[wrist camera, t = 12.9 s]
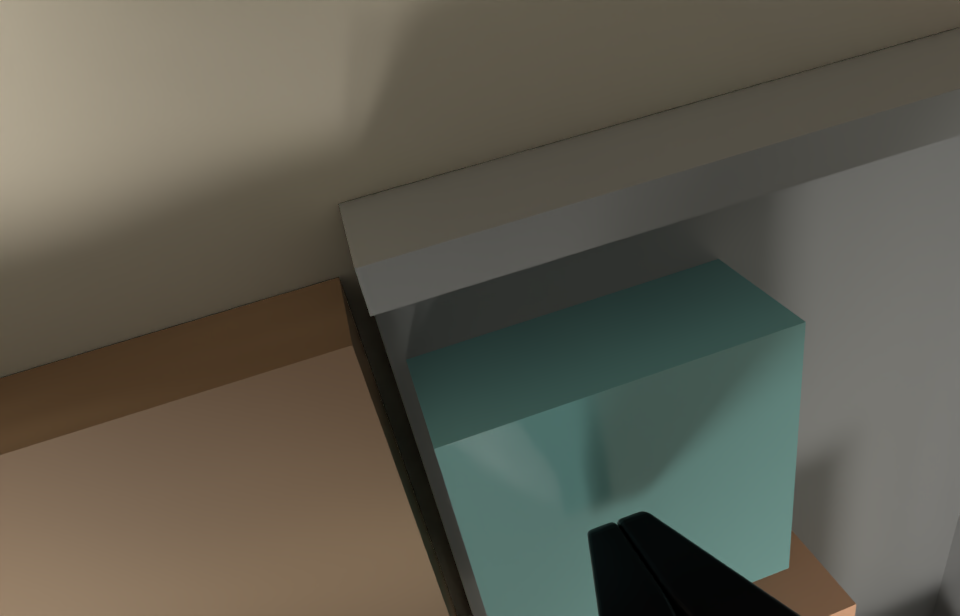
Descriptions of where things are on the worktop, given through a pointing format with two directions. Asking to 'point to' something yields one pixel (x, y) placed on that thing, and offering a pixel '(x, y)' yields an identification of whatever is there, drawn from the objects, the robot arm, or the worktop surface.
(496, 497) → the teal tile
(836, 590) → the terracotta tile
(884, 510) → the grey tray
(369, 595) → the walnut step
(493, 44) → the worktop surface
